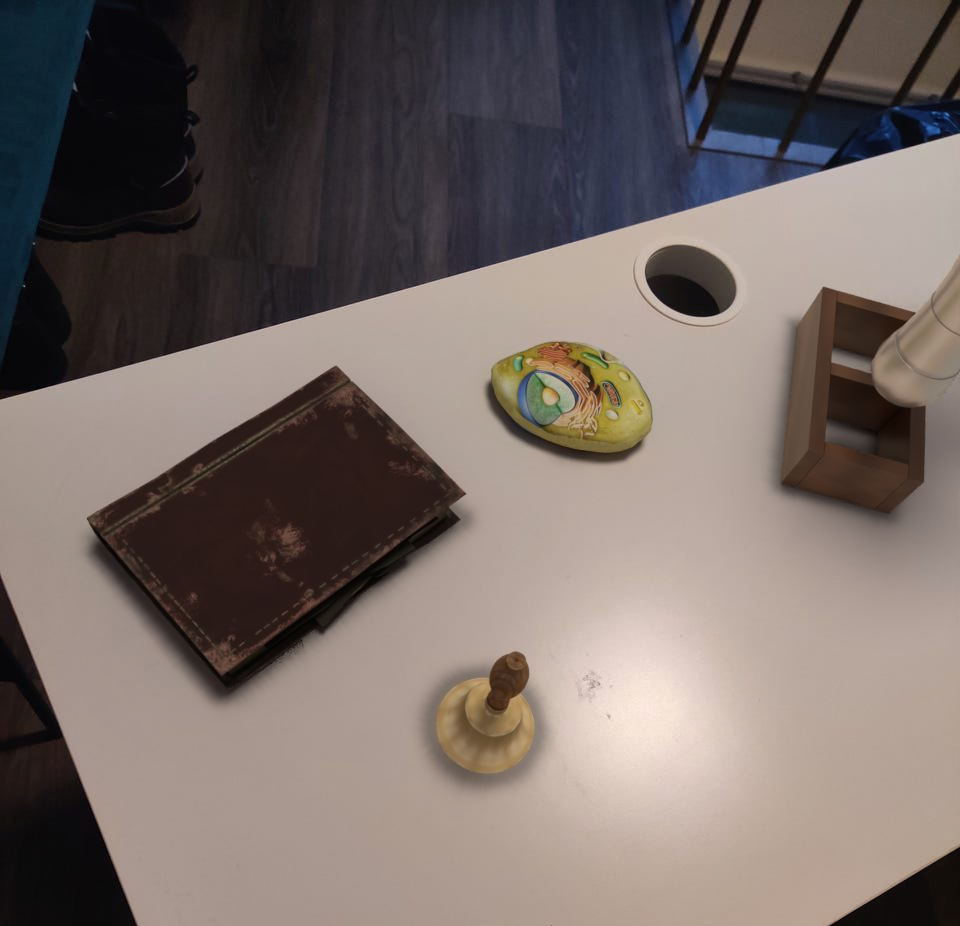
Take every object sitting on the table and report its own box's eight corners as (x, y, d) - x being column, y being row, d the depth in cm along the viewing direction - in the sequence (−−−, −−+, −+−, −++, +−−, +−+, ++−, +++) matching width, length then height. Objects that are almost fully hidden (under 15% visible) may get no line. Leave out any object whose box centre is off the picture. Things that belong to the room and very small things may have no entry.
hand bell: (544, 767, 68) (594, 707, 53) (443, 784, 66) (466, 728, 52) (523, 671, 71) (564, 590, 56) (425, 686, 69) (442, 605, 55)
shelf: (893, 356, 90) (927, 315, 84) (886, 516, 82) (924, 482, 76) (795, 329, 90) (823, 286, 84) (778, 486, 81) (808, 450, 76)
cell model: (639, 473, 77) (503, 386, 72) (595, 490, 84) (469, 412, 79) (679, 373, 79) (550, 282, 74) (633, 398, 86) (512, 316, 81)
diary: (98, 540, 70) (79, 509, 66) (333, 393, 79) (331, 356, 74) (236, 702, 67) (226, 680, 62) (466, 528, 75) (473, 498, 71)
